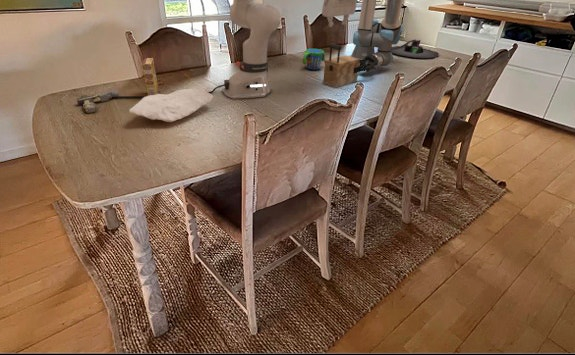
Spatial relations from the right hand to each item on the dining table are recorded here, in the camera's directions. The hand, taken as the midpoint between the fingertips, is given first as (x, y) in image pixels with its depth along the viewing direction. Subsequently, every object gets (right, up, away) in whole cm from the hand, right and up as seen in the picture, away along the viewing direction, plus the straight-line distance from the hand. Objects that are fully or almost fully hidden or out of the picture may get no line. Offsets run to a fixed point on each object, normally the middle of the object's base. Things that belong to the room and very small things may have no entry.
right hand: (347, 68), depth 192 cm
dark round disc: (+56, +29, +62) cm, 88 cm away
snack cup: (-16, +6, +20) cm, 27 cm away
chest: (-4, -7, +1) cm, 8 cm away
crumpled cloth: (-79, -32, -43) cm, 95 cm away
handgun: (-111, -26, -36) cm, 120 cm away
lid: (-3, +2, -5) cm, 6 cm away
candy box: (-93, -20, -25) cm, 99 cm away
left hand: (-8, +15, -19) cm, 25 cm away
